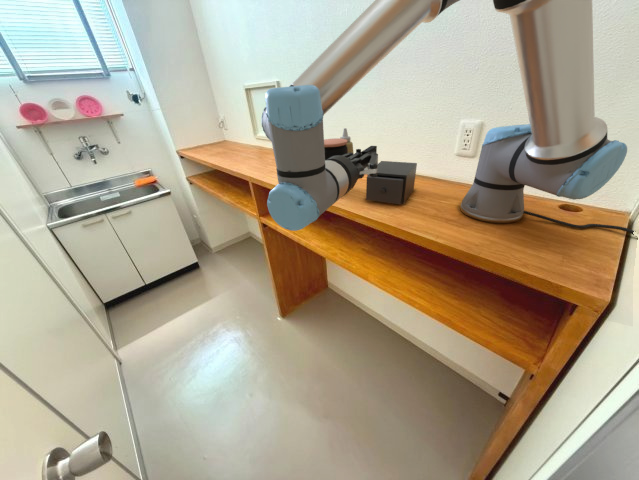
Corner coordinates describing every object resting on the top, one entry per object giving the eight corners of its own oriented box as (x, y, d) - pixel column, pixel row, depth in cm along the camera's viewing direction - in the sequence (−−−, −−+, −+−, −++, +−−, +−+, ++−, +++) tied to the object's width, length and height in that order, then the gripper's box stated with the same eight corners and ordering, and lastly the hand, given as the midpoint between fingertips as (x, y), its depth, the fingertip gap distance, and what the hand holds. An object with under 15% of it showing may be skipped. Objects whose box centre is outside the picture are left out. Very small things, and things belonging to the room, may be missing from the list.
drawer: (399, 205, 79) (401, 181, 75) (364, 200, 84) (365, 178, 80) (410, 190, 90) (412, 168, 86) (378, 186, 95) (380, 165, 91)
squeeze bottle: (357, 167, 122) (357, 127, 113) (349, 172, 116) (349, 130, 107) (342, 166, 126) (341, 126, 117) (334, 170, 120) (332, 129, 111)
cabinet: (403, 204, 82) (406, 175, 77) (366, 199, 87) (367, 172, 82) (413, 189, 92) (417, 163, 87) (380, 185, 98) (381, 160, 93)
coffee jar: (346, 195, 92) (345, 143, 82) (318, 195, 94) (314, 144, 84) (349, 185, 100) (349, 137, 91) (323, 185, 103) (320, 138, 93)
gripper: (305, 194, 53) (350, 164, 70) (364, 202, 47) (398, 167, 64) (301, 157, 49) (350, 135, 66) (364, 161, 43) (400, 136, 60)
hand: (373, 151), depth 65 cm, fingers closed
